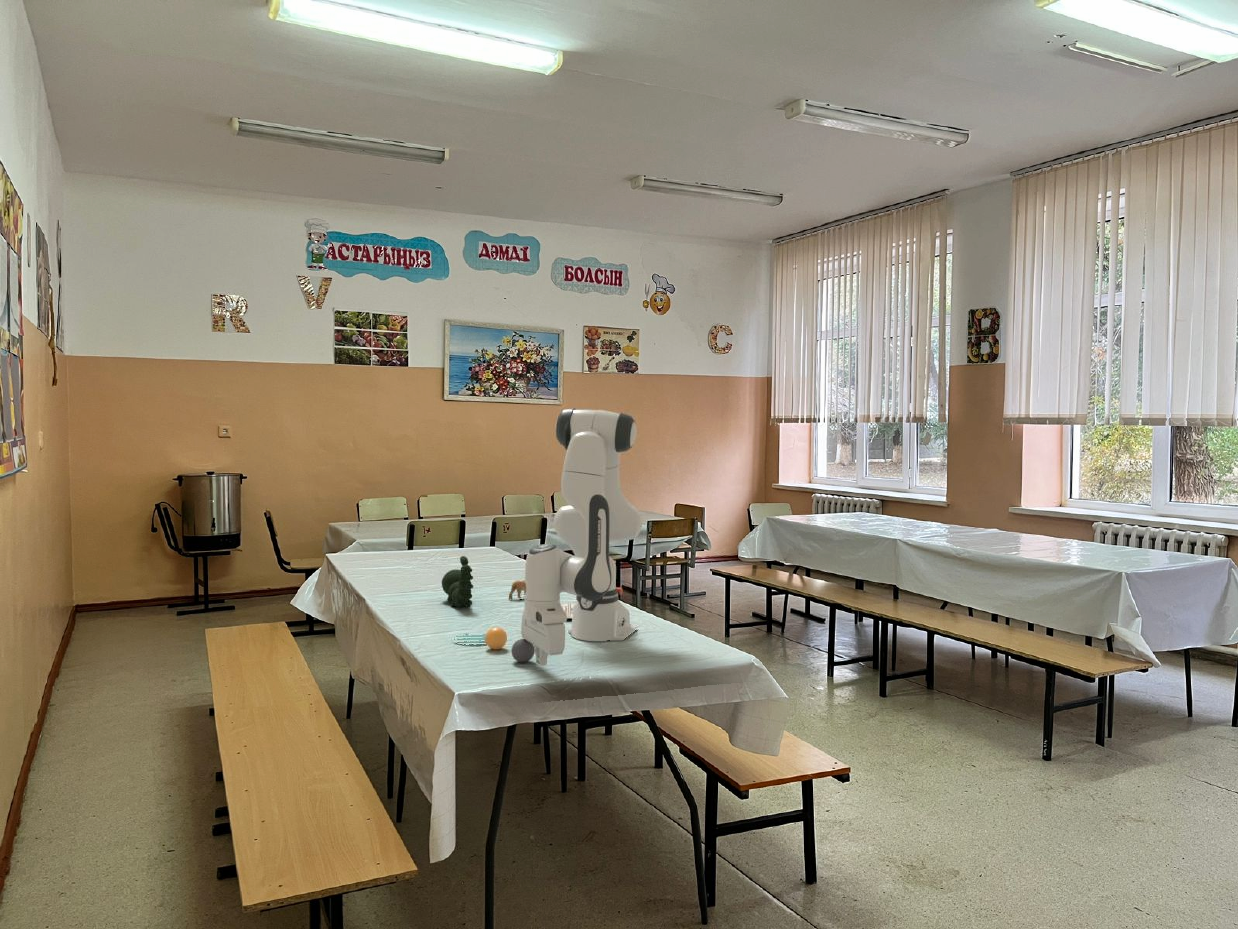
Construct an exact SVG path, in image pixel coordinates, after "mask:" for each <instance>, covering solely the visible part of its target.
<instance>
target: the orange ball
mask: <svg viewBox="0 0 1238 929" xmlns="http://www.w3.org/2000/svg"><path fill="white" fill-rule="evenodd" d="M485 642H486V644H487V645H486V646H487V647H488V648H490V649H491V650H501V649H502V648H503V647H504V646H506V644H507V642H508V635H507V632H506V631H505V629H503V628H501V627H498V626H497V627H491V628H490V629H488V630H487V632H486V636H485Z"/></svg>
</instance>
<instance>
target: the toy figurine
mask: <svg viewBox="0 0 1238 929" xmlns="http://www.w3.org/2000/svg"><path fill="white" fill-rule="evenodd" d="M459 559H460V560H459V562H460V564H461V567H460V569H451V570H449V571H447V572H446V573H445V574H444V575H443V577H442V579H441V587H442V589H443V592H444V593H445V594H446V595H448V597H447V598H446V601H447V603H449V604H450V606H451V607H452V606H455V607H460V606H461V607H462V606H466V605H467V606H466V607H470V606H472V605H473V600H471V599H472V598H473V594H472V589H474V585H473V583H472V580H473V579H474V576H473V575H472V572H473V569H472V568H471V566H470V565H468V564H469V560H468V557H467V556H466V555H462V556H460V558H459Z"/></svg>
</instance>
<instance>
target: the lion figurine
mask: <svg viewBox="0 0 1238 929" xmlns="http://www.w3.org/2000/svg"><path fill="white" fill-rule="evenodd" d="M516 591H517V592H516ZM522 591H524V594H523V596H524V595H525V594H526V583H525V579H524V580H515V581H513V583H512V584H511V589H510V592H509V594H508V600H509V599H512V600H513V594H514V592H516V593H517V595H516V596H517V597H518V599H519V598H522V597H521V594H522Z"/></svg>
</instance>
